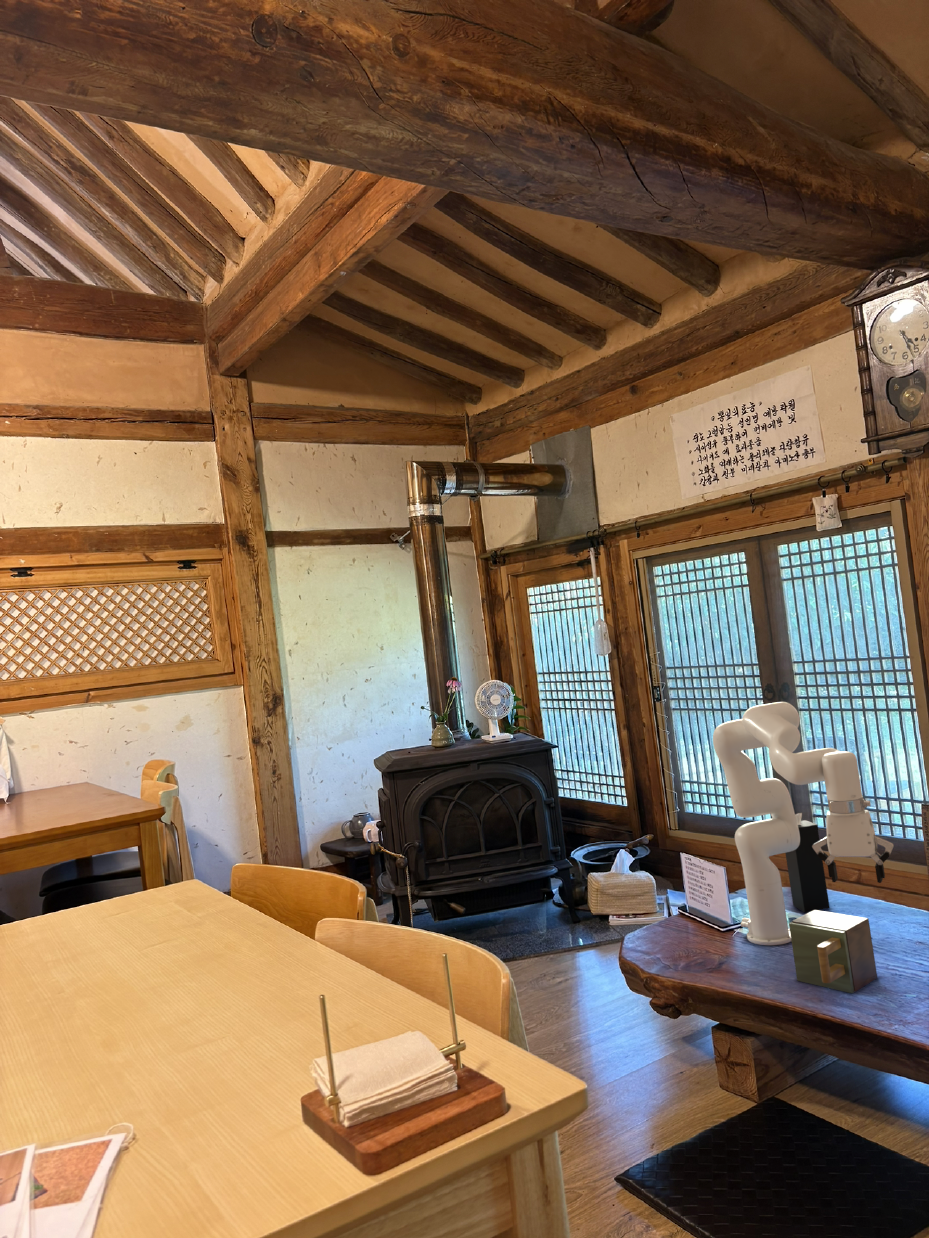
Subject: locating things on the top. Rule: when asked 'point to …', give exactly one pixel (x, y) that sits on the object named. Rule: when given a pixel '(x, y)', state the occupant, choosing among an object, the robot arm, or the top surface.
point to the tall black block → (807, 870)
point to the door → (821, 957)
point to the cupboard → (849, 942)
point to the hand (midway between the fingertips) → (857, 880)
